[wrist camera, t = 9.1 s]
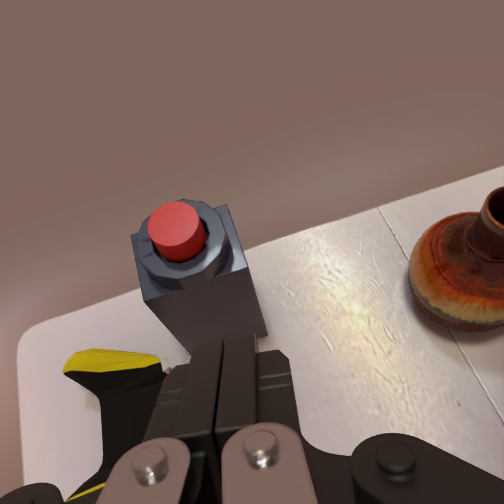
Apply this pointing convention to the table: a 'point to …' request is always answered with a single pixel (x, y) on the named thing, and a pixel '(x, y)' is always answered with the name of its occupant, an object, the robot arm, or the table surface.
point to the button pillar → (201, 283)
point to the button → (177, 231)
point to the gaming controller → (118, 400)
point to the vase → (462, 268)
